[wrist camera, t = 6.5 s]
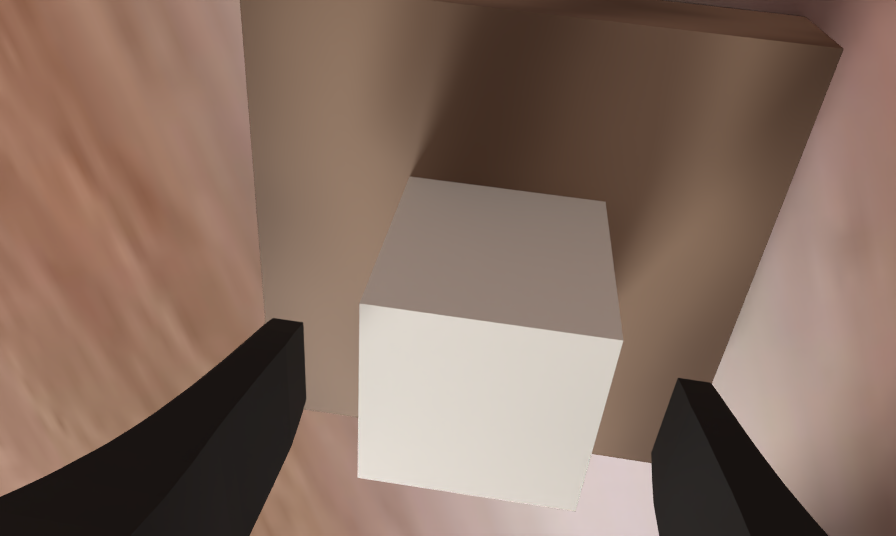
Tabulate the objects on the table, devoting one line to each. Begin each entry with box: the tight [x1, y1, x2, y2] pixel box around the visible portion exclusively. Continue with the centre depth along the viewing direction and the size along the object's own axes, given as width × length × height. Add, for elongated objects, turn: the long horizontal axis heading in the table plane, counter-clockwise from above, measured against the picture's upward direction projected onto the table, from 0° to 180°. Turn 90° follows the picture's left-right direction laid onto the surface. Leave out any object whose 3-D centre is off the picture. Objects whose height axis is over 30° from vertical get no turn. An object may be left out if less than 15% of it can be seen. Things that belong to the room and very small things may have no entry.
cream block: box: [358, 177, 623, 512], centre depth 15 cm, size 4×4×5 cm
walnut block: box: [240, 0, 843, 463], centre depth 18 cm, size 12×12×2 cm
